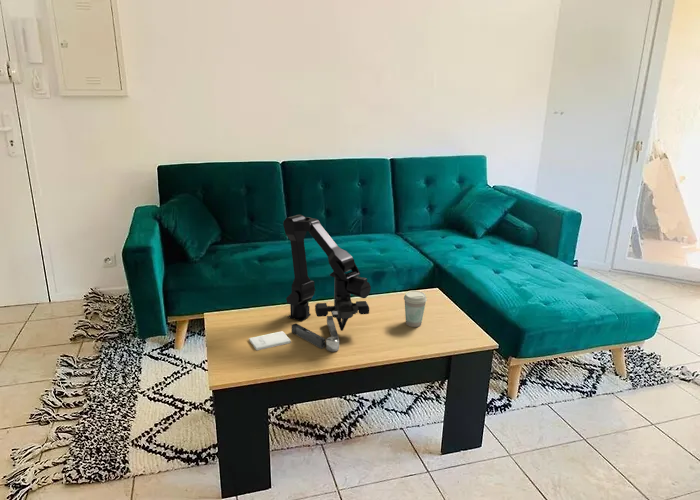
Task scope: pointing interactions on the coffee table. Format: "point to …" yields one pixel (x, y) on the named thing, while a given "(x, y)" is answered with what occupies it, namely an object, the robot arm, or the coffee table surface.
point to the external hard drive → (269, 340)
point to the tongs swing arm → (332, 336)
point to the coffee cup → (414, 307)
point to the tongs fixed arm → (308, 335)
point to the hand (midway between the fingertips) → (341, 330)
